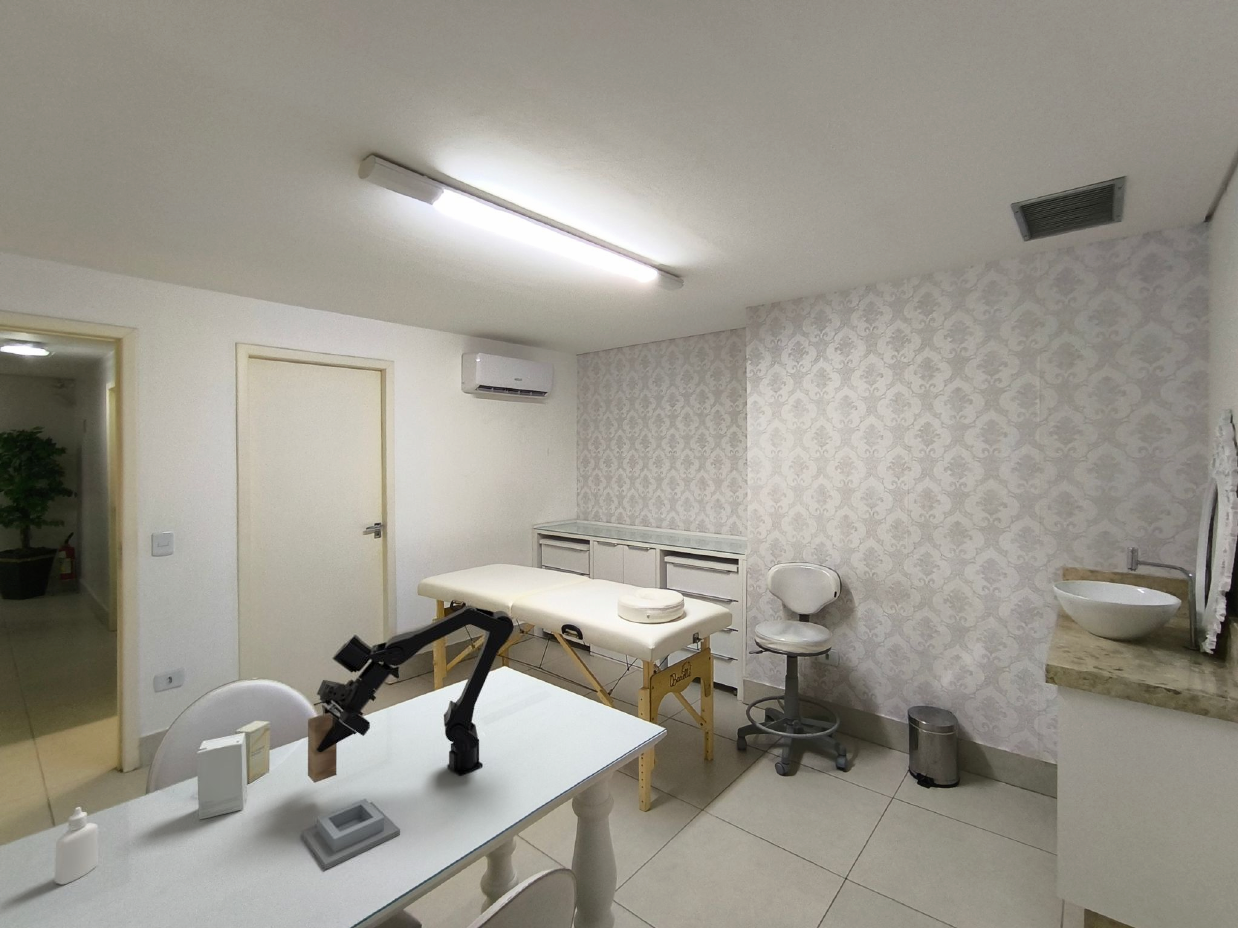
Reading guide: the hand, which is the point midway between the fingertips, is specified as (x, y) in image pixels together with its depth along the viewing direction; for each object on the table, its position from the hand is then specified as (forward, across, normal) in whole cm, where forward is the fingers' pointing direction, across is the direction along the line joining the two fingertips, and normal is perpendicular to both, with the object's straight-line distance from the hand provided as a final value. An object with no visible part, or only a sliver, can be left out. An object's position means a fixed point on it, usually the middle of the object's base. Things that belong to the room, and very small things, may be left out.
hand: (315, 747), depth 123 cm
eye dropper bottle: (+36, -6, -18) cm, 40 cm away
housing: (+7, +17, +10) cm, 21 cm away
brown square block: (+4, 0, +6) cm, 7 cm away
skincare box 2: (+14, -24, +3) cm, 28 cm away
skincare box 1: (+20, -12, -2) cm, 23 cm away
